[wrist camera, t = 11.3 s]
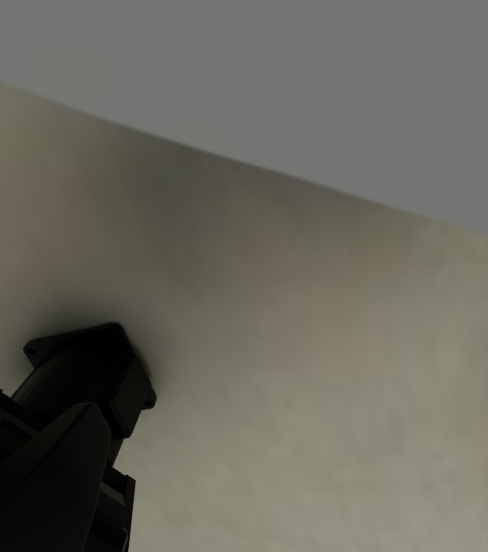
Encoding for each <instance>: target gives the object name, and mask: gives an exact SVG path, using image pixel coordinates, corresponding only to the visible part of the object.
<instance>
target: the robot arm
mask: <svg viewBox="0 0 488 552" xmlns="http://www.w3.org/2000/svg"><path fill="white" fill-rule="evenodd" d="M111 331H115V332H116V333H117V334H114V333H112V332H111ZM32 348H33V349H34V350H33V349H32ZM23 351H24V353H25V354H26V356H27V358H28V359H29V361H30V362H31V364H32V365H33V367H34V370H33V371H32V372H31V373H30V375H29V376H28V377H27V378H26V379H25V381H24V382H23V383H22V384H21V385H20V387H19V388H18V389H17V390H16V391H15V393H14V394H13V395H12V396H11V397H8V396H7V395H5V394H4V393H2V391H3V390H2V389H0V552H128V549H129V540H130V530H131V521H132V511H133V502H134V492H135V483H136V480H134V479H133V478H131V477H130V476H129V475H126V476H125V475H124V474H122V473H121V472H119V471H118V470H116V469H115V468H113V465H114V462H115V460H116V457H117V455H118V453H119V450H120V448H121V445H122V443H123V440H124V439H125V438H129V437H130V436H131V434H132V433H133V430H134V427H135V425H136V422H137V420H138V417H139V415H140V412H141V410H146V409H151V408H153V407H154V406H155V403H156V400H157V399H156V396H155V394H154V392H153V390H152V388H151V383H150V381H149V379H148V376H147V374H146V372H145V370H144V368H143V366H142V364H141V362H140V360H139V358H138V356H137V355H136V354H135V353H134V351H133V349H132V347H131V345H130V343H129V341H128V339H127V337H126V335H125V333H124V331H123V329H122V327H121V326H120V325H118V324H107V325H103V326H98V327H93V328H89V329H84V330H79V331H74V332H70V333H65V334H60V335H56V336H51V337H46V338H41V339H37V340H32V341H29V342H28V343H27V344H26V345H25V346H24V348H23ZM146 400H148V401H146ZM149 401H150V402H149Z"/></svg>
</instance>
